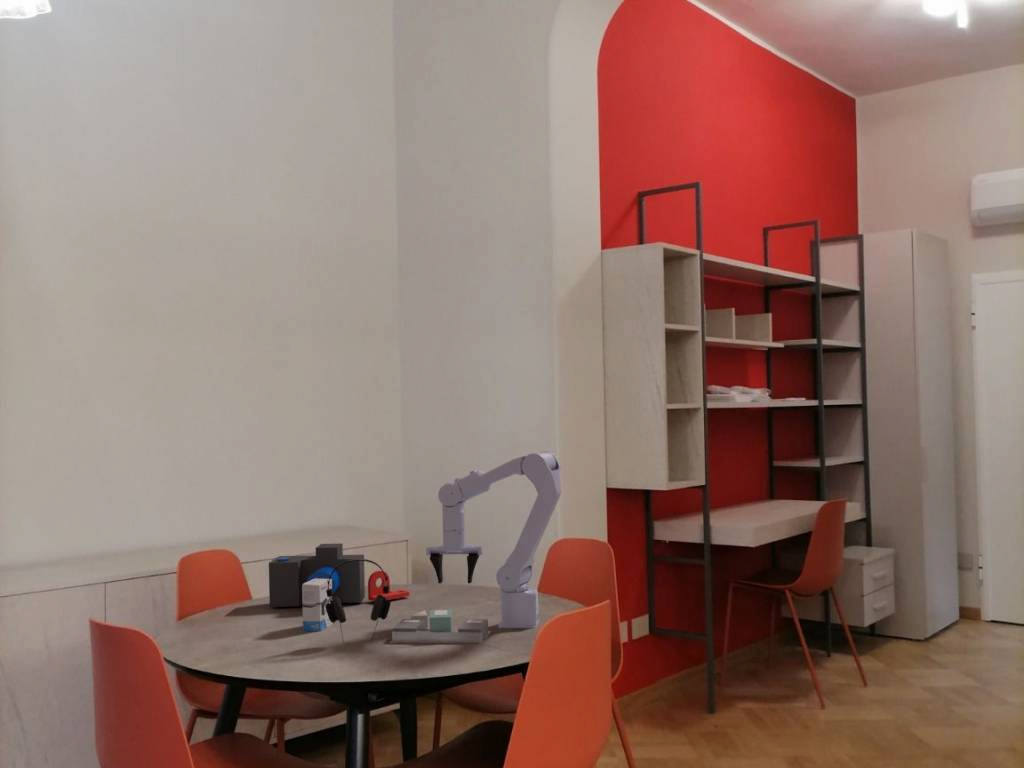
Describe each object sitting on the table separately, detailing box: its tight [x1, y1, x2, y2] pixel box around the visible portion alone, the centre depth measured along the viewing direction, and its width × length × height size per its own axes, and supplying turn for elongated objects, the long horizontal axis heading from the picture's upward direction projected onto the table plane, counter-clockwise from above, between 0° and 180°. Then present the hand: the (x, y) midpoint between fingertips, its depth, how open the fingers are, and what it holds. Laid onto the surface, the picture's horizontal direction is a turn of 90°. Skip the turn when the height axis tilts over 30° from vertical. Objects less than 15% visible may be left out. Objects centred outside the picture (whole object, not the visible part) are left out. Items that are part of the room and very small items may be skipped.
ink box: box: [301, 578, 334, 632], centre depth 238 cm, size 8×5×12 cm, turn 168°
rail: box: [391, 630, 483, 644], centre depth 218 cm, size 21×1×2 cm, turn 82°
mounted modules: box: [392, 618, 489, 642], centre depth 223 cm, size 21×10×3 cm, turn 82°
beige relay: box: [408, 609, 429, 630], centre depth 234 cm, size 4×6×4 cm, turn 12°
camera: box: [268, 542, 366, 608], centre depth 267 cm, size 25×16×16 cm, turn 88°
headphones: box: [325, 558, 391, 643], centre depth 222 cm, size 15×11×20 cm
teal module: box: [429, 609, 453, 631], centre depth 223 cm, size 5×8×6 cm, turn 3°
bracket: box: [367, 570, 411, 602], centre depth 273 cm, size 12×4×8 cm, turn 133°
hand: (455, 582), depth 241 cm, fingers open, 7 cm apart
